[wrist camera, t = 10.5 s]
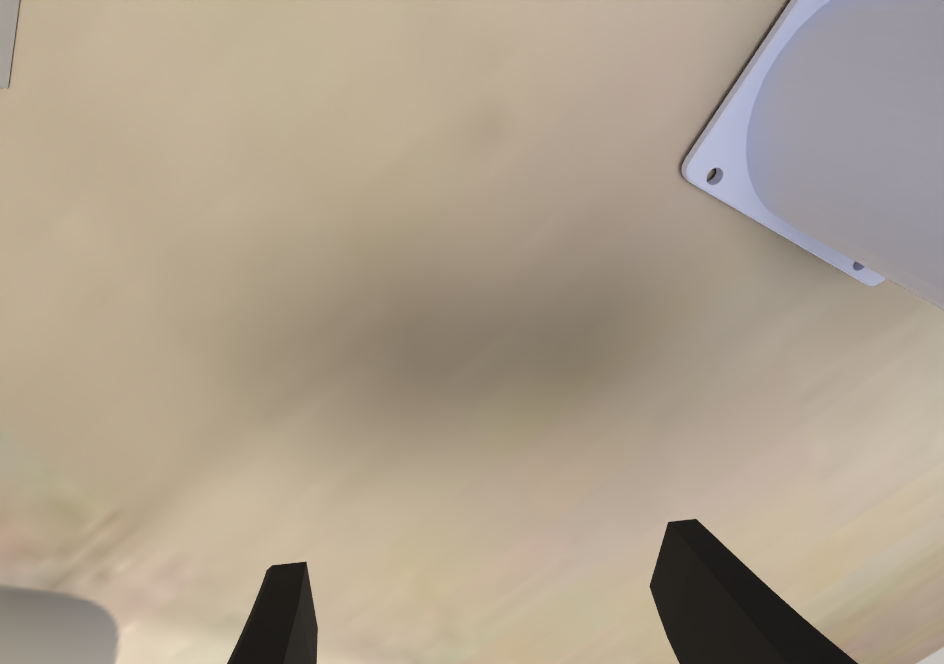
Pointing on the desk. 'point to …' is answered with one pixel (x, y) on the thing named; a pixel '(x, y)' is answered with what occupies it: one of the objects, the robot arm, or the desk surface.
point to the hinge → (7, 37)
